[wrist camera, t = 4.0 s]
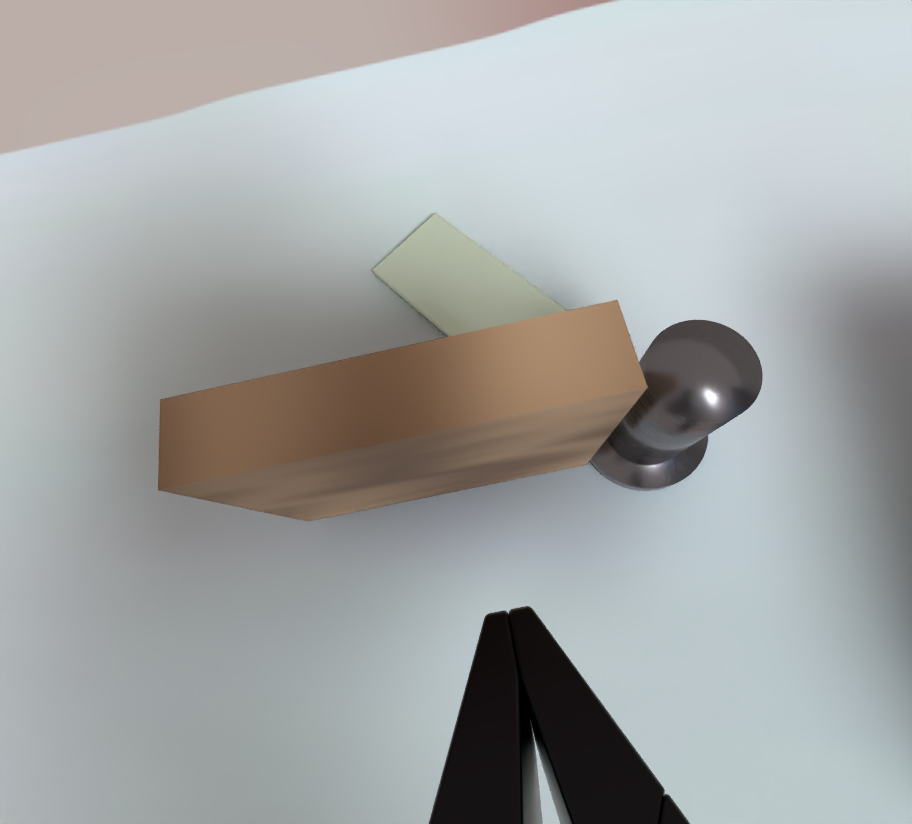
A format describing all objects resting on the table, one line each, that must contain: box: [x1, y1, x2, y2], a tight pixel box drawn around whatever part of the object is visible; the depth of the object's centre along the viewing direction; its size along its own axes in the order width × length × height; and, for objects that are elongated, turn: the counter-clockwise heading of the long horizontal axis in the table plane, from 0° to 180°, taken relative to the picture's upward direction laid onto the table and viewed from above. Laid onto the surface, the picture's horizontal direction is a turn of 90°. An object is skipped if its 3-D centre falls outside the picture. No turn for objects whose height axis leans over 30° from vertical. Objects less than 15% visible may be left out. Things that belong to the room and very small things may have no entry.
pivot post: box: [589, 320, 762, 491], centre depth 15 cm, size 4×4×6 cm
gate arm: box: [158, 300, 648, 521], centre depth 13 cm, size 10×2×8 cm, turn 100°
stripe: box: [372, 213, 567, 337], centre depth 20 cm, size 10×4×1 cm, turn 45°
